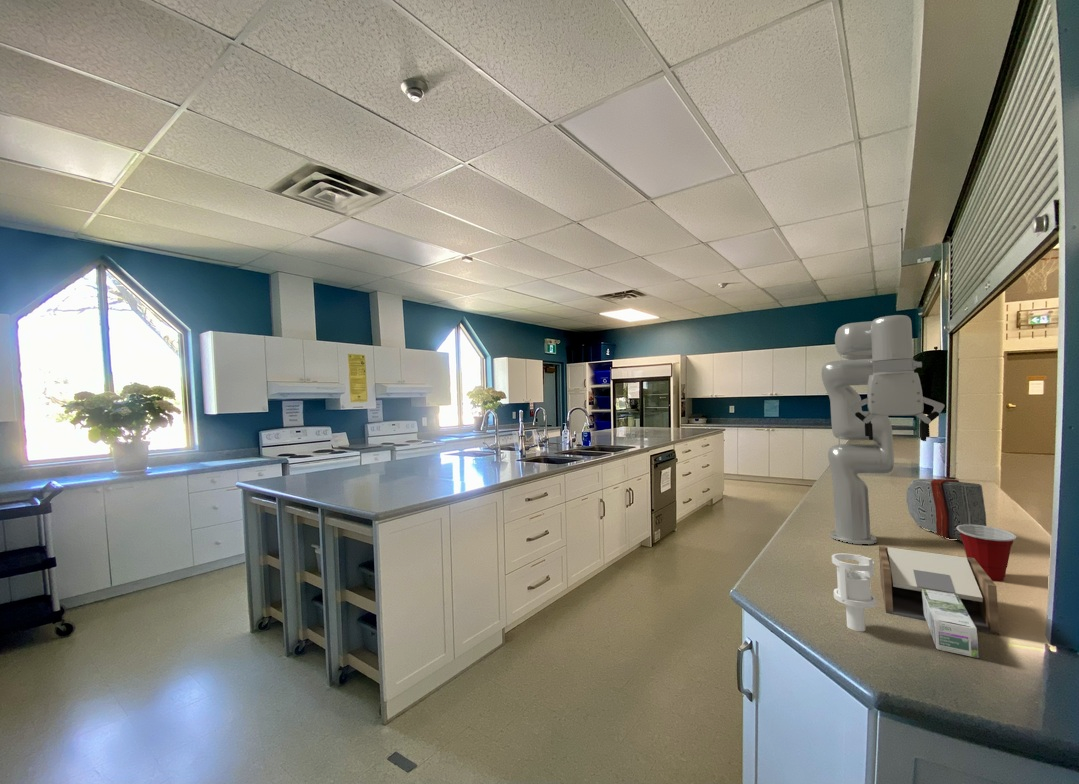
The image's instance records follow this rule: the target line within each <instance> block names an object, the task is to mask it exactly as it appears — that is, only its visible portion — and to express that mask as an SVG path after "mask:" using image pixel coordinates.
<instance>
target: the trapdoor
mask: <svg viewBox="0 0 1079 784" xmlns="http://www.w3.org/2000/svg"><path fill="white" fill-rule="evenodd" d="M886 547H887V548H888V557H889V563H890V569H891V576H892V582H893V587H898V588H904V589H910V590H915V591H921V592H922V589H927V590H933V591H940V592H947V593H953V594H957V595H958V596H959V598H962V599H968V600H973V601H979V602H983V597H982V595H981V592H980V590H979V587H978V585H977V582H976V580H975V577H974V575H973V572H972V570H971V567H970V565H969V563H968V560H967V558H966V557H967V556H960V557H958V556H959V555H958V556H957V555H952V556H951V555H950V554H945V555H943V554H944V553H943V554H942V553H937V554H935V553H936V552H929V551H922V552H920V551H921V550H914V551H913V549H907V550H905V549H906V548H899V549H897V547H891V548H890V546H886ZM928 552H929V553H928Z"/></svg>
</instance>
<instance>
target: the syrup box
mask: <svg viewBox="0 0 1079 784" xmlns="http://www.w3.org/2000/svg"><path fill="white" fill-rule="evenodd" d="M922 599H923V613H924V616H925V618H926V621H925V622H926V623H927V626H928V628H929V632H930V634H931V637H932V640H933V644H934V645H935V648H936V650H938V651H939V650H940V651H943V652H949V653H952V654H957V655H962V656H965V657H966V656H967V657H972V658H974V659H975V658H976V659H979V641H978V639H979V638H978V631H977V628H976V626H975V625H974V623H973V621H972V619H971V618H970V616H969V614H968V612H967V610H966V609H965V607H964V605H963V603H962V601H961V600H960V598H959V596H958V595H957V594H953V593H947V592H940V591H933V590H927V589H922Z"/></svg>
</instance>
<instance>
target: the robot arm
mask: <svg viewBox="0 0 1079 784" xmlns="http://www.w3.org/2000/svg"><path fill="white" fill-rule="evenodd" d="M834 336H835V337H834V345H835V349H836V352H837V353H838V355H839V356H840V357H842V358H843V359H841V360H840V359H839V360H833V361H829V362H827V363H825V364H824V365H823V366H822V368H821V380H822V384H823V386H824V389H825V390H826V393H827V395H828V397H829V402H830V420H831V422H830V423H831V430H832V433H833V436H834V437H835V438H836V439H839V440H845V441H872V442H873V444H872V443H870V444H867V443H866V444H865V443H863V444H860V443H842V444H841V443H840V444H836V445H835V444H834V445H833V446H831V447H830V448H829V449H828V453H827V457H828V463H829V468H830V471H831V472H830V473H831V477H832V478H831V479H832V491H833V492H832V493H833V494H832V495H833V509H834V510H833V512H834V513H833V514H834V530H832V531H830V532H829V536H830V538H831V539H833V538H834V539H833V540H835V539H836V541H838V540H840V541H839V542H842V541H843V542H842V543H846V542H848V543H847V544H852V543H853V544H852V545H862V544H868V545H874V543H875V544H876V543H878V538H877V537H876V536H875V535H872V534H871V520H870V518H871V517H870V502H869V488H868V484H867V483H866V482H865V481H864V479H862V478H861V477H859V475H858V474H881V475H883V474H889V473H891V472H892V471H893V469H894V468H895V467H894V466H895V455H894V437H893V428H892V427H893V426H892V423H891V422H892V421H891V419H890V418H889V416H892V417H893V416H894V417H895V416H899V417H900V416H915V417H916V418H918V419H919V421H920V423H919V439H920V440H921V441H922V442H927V438H930V437H931V436H930V432H931V431H930V424H931V423H932V421H934V420H935V419H936V418H938V417H939V416H940V414H941V413H942V411H943V410H944V408H945V404H944V403H943V402H939V401H936V400H933V399H931V398H928V397H925V396H923V389H922V384H921V379H920V376H919V373H918V372H915V370H916V369H918V368H922V367H923V362H922V361H917V360H915V359H914V352H913V351H914V348H913V327H912V320H911V318H910V317H909V316H908V315H906V314H905V315H904V314H894V315H885V316H880V317H878V318H874V319H873V320H872V321H871V320H870V321H859V322H858V321H857V322H850V323H846V324H843V325H841V326H840V327H838V328H837V330H836V333H835V335H834ZM852 386H867V388H866V389H867V395H866V396H867V397H866V398H864V399H862V398H861V396H860V394H859V393H858V392H857V391H856V390H855V389H854V388H853V387H852ZM924 404H926V405H929V406H932V407H933V410H932V411H931V412H930V413H929V414H927V415H926V414H925V413H924V408H925V407H924ZM865 405H867V411H866V410H865V411H864V410H862V409H863V408H862V407H863V406H865Z"/></svg>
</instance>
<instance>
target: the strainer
mask: <svg viewBox="0 0 1079 784" xmlns="http://www.w3.org/2000/svg"><path fill="white" fill-rule="evenodd" d="M842 560H848V561H857V562H858V564H857V563H855V564H854V563H850V562H845V561H842ZM831 563H832V564H833V565H834V566H836V580H837V581H836V582H837V588H834V589H833V598H834V600H836V601H838V602H839V603H841V604H844V605H845V613H846V615H845V616H846V627H847V628H848V629H850V630H852V631H854V632H861V633H862V632H865V631H866V617H865V616H866V614H865V609H872V608H873V609H874V608H875V607H877V598H876V596H874V595H873V594H872V588H871V587H872V586H871V579H870V578H873V577H874V570H875V562H874V560H873V558H872V557H871V558H870V557H867V556H864V555H863V554H854V553H845V552H844V553H843V552H841V553H833V554H831Z"/></svg>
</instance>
